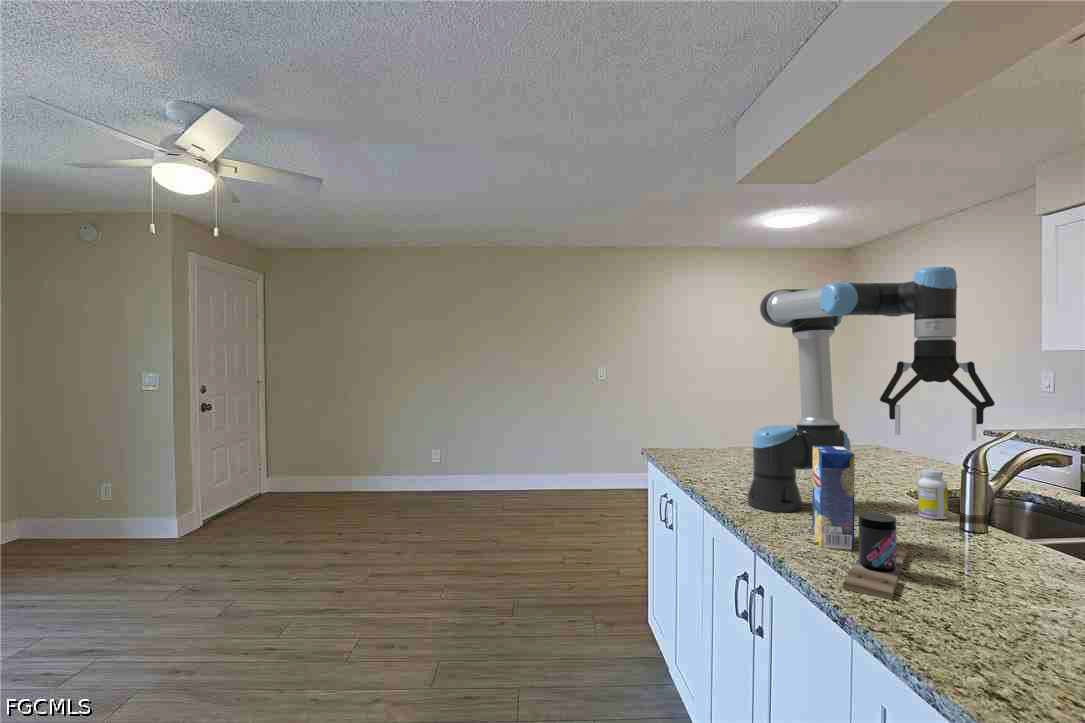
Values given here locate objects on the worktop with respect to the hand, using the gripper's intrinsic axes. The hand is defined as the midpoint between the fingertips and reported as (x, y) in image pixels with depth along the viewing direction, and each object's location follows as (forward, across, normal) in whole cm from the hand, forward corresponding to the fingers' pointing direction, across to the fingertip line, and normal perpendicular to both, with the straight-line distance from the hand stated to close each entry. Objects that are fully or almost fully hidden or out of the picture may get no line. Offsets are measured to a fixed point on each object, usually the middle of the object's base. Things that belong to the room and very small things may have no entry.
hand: (934, 437), depth 122 cm
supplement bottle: (+27, -2, +38) cm, 47 cm away
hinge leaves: (+27, -9, -15) cm, 32 cm away
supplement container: (+26, -9, -15) cm, 31 cm away
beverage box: (+27, -20, 0) cm, 34 cm away
